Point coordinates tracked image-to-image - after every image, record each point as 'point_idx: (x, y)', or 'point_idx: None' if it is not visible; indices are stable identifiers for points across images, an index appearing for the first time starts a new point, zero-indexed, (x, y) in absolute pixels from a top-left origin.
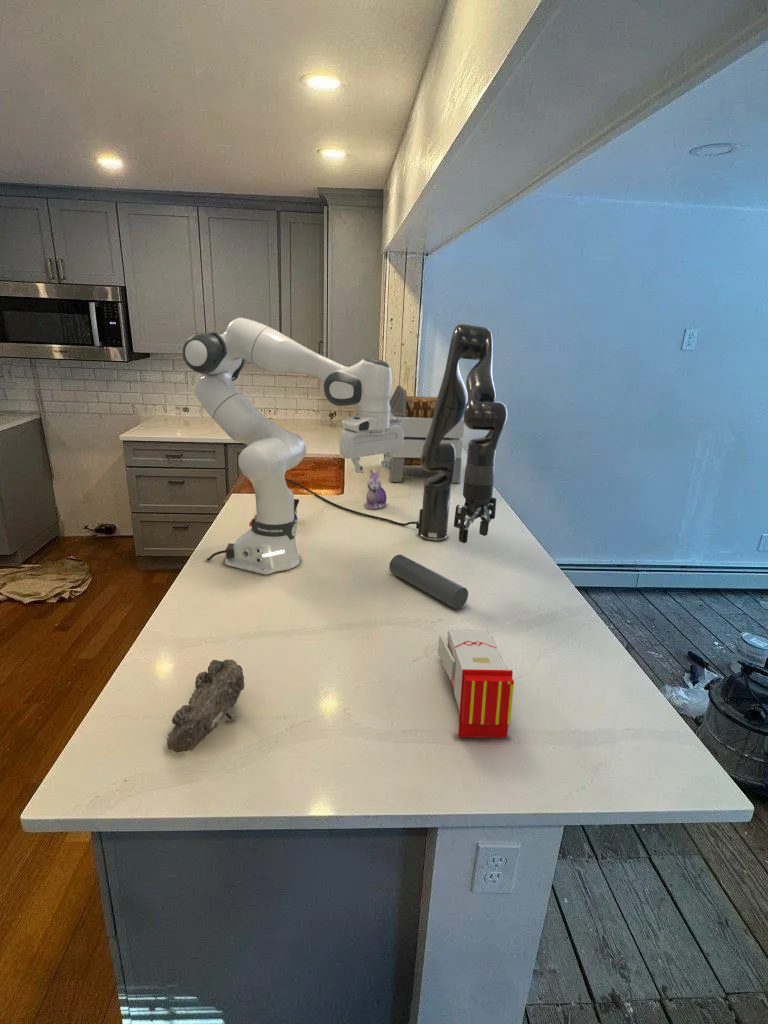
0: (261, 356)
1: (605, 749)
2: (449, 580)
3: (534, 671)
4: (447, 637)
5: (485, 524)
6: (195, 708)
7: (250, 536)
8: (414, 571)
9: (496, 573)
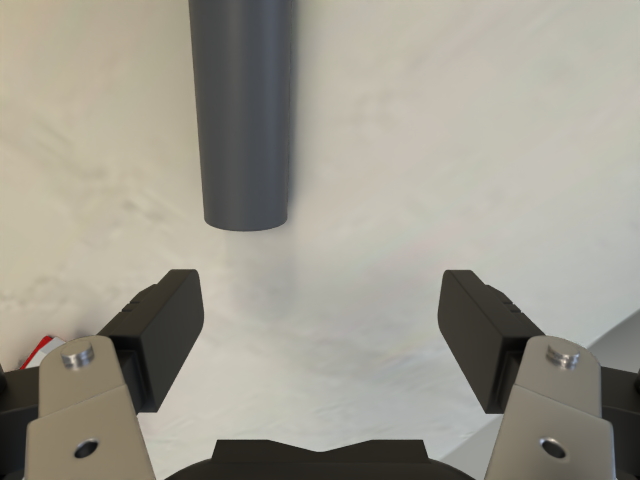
0: None
1: None
2: (246, 155)
3: (199, 447)
4: (51, 340)
5: (481, 385)
6: None
7: None
8: None
9: (582, 118)
